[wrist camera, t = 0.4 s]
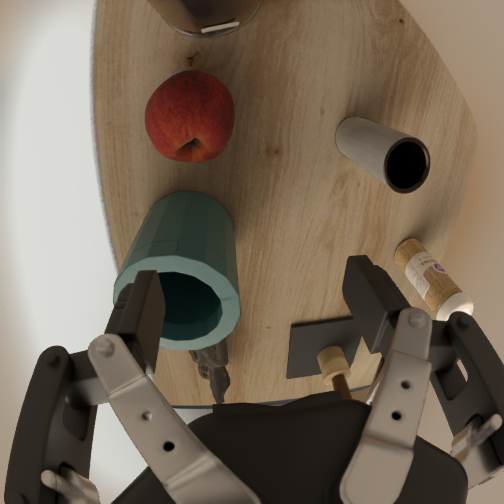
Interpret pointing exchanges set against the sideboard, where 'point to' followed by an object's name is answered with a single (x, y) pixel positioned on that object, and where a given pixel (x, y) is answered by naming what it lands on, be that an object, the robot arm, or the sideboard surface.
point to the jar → (188, 268)
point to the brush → (335, 369)
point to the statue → (214, 368)
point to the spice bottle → (431, 280)
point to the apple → (190, 117)
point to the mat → (320, 344)
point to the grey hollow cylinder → (384, 153)
